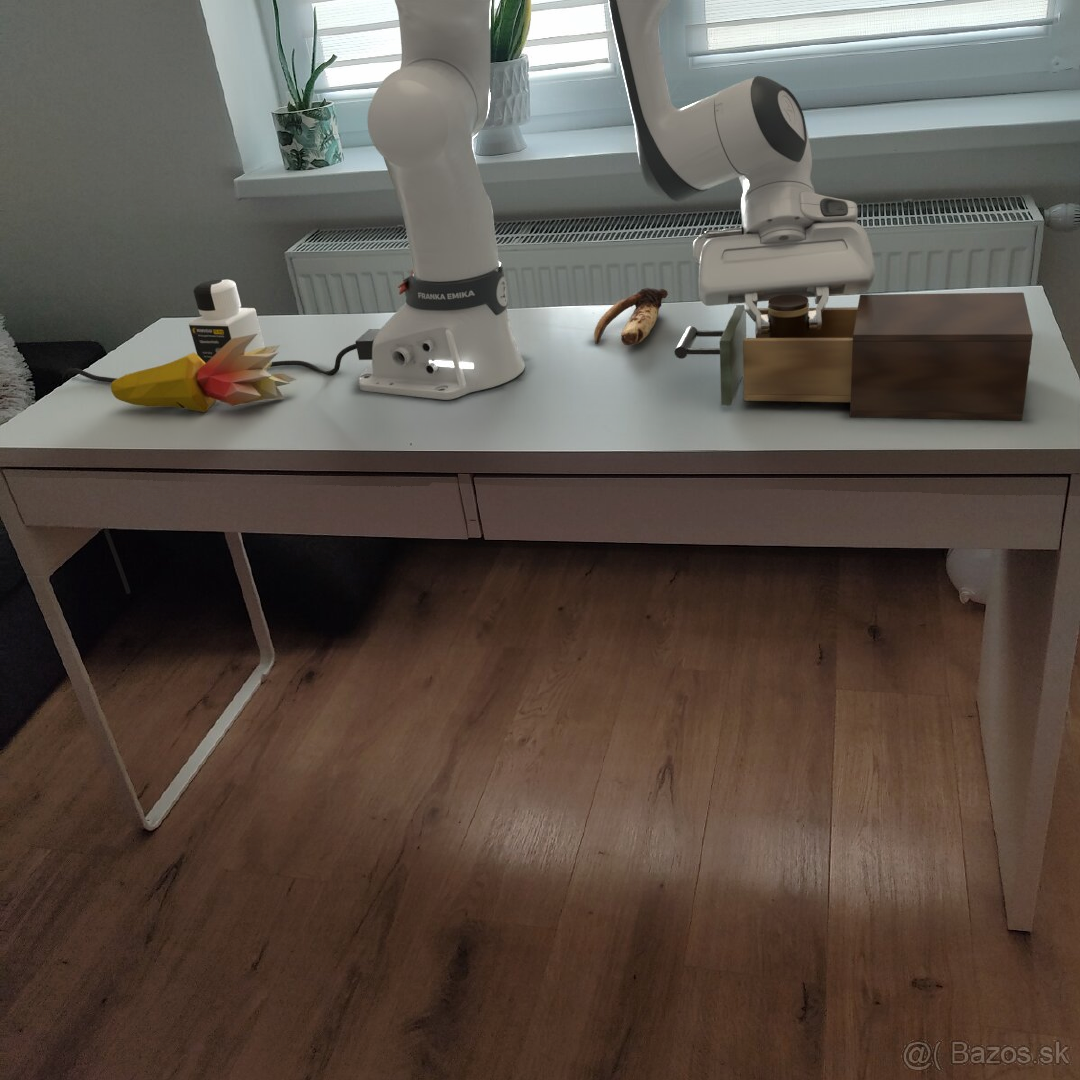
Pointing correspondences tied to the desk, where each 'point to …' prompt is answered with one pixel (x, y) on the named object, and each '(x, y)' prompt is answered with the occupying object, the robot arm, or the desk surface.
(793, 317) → the banded brown cylinder
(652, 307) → the bone fish hook
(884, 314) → the cabinet
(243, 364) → the torch
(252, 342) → the medicine bottle
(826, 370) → the drawer
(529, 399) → the desk surface
